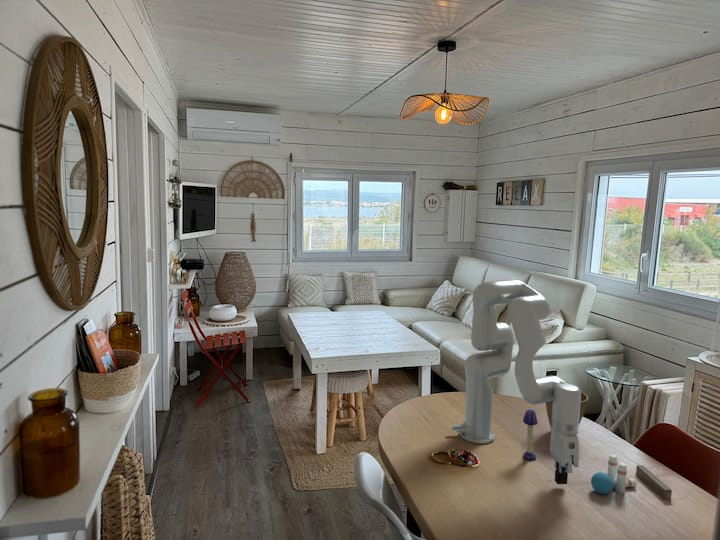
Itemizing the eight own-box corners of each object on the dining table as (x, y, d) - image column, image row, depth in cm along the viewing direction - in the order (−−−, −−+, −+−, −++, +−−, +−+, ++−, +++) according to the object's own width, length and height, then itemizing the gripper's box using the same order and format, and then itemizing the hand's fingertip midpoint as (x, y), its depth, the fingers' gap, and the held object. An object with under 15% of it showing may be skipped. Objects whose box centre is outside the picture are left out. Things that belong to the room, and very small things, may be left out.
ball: (615, 498, 147) (593, 497, 149) (610, 480, 152) (589, 479, 154) (615, 486, 144) (592, 485, 146) (611, 468, 149) (589, 467, 151)
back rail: (664, 499, 146) (665, 490, 146) (635, 474, 160) (636, 465, 160) (670, 499, 146) (671, 489, 146) (641, 473, 160) (642, 465, 160)
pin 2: (618, 493, 149) (620, 467, 148) (613, 489, 151) (616, 462, 150) (626, 493, 149) (629, 466, 148) (621, 488, 151) (624, 462, 150)
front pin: (609, 482, 151) (637, 481, 151) (605, 477, 153) (632, 476, 154) (608, 489, 151) (635, 488, 152) (604, 484, 154) (631, 483, 154)
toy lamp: (528, 462, 166) (531, 414, 164) (517, 456, 170) (520, 409, 168) (538, 459, 169) (541, 412, 166) (528, 453, 173) (531, 407, 170)
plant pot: (541, 439, 183) (544, 397, 181) (542, 423, 197) (545, 384, 195) (586, 446, 178) (589, 404, 176) (583, 429, 192) (586, 389, 190)
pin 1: (609, 484, 154) (611, 458, 153) (605, 480, 156) (607, 454, 155) (617, 484, 154) (619, 458, 153) (612, 479, 156) (614, 454, 155)
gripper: (589, 437, 142) (584, 497, 144) (565, 415, 157) (561, 469, 159) (563, 437, 142) (559, 497, 144) (542, 415, 156) (538, 470, 159)
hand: (560, 482), depth 152 cm, fingers closed
